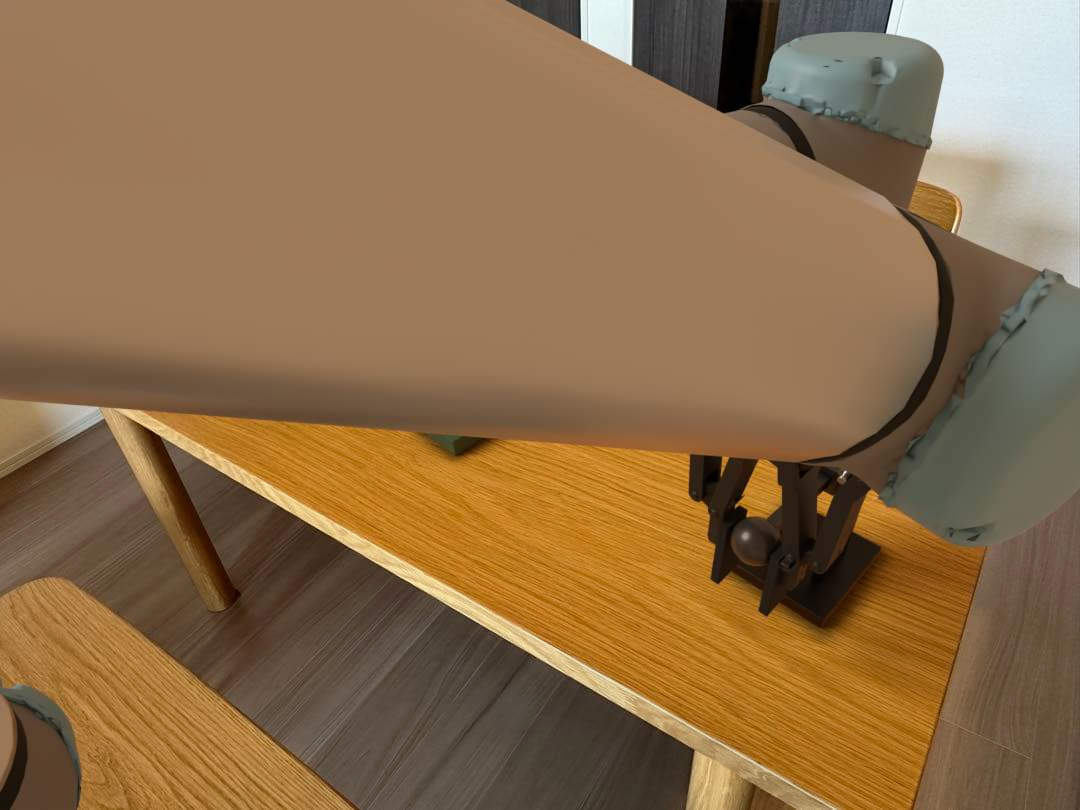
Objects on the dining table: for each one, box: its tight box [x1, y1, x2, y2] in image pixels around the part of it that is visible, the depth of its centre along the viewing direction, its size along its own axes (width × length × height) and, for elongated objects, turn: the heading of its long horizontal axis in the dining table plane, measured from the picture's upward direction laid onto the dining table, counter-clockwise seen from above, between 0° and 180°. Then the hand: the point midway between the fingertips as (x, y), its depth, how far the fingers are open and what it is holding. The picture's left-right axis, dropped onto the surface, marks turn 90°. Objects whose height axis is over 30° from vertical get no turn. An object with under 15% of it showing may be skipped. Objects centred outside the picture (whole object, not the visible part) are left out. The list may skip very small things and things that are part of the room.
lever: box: [731, 466, 840, 566], centre depth 54 cm, size 15×4×4 cm, turn 134°
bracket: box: [731, 484, 883, 629], centre depth 61 cm, size 11×9×14 cm
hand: (747, 586), depth 55 cm, fingers closed on lever, 4 cm apart
